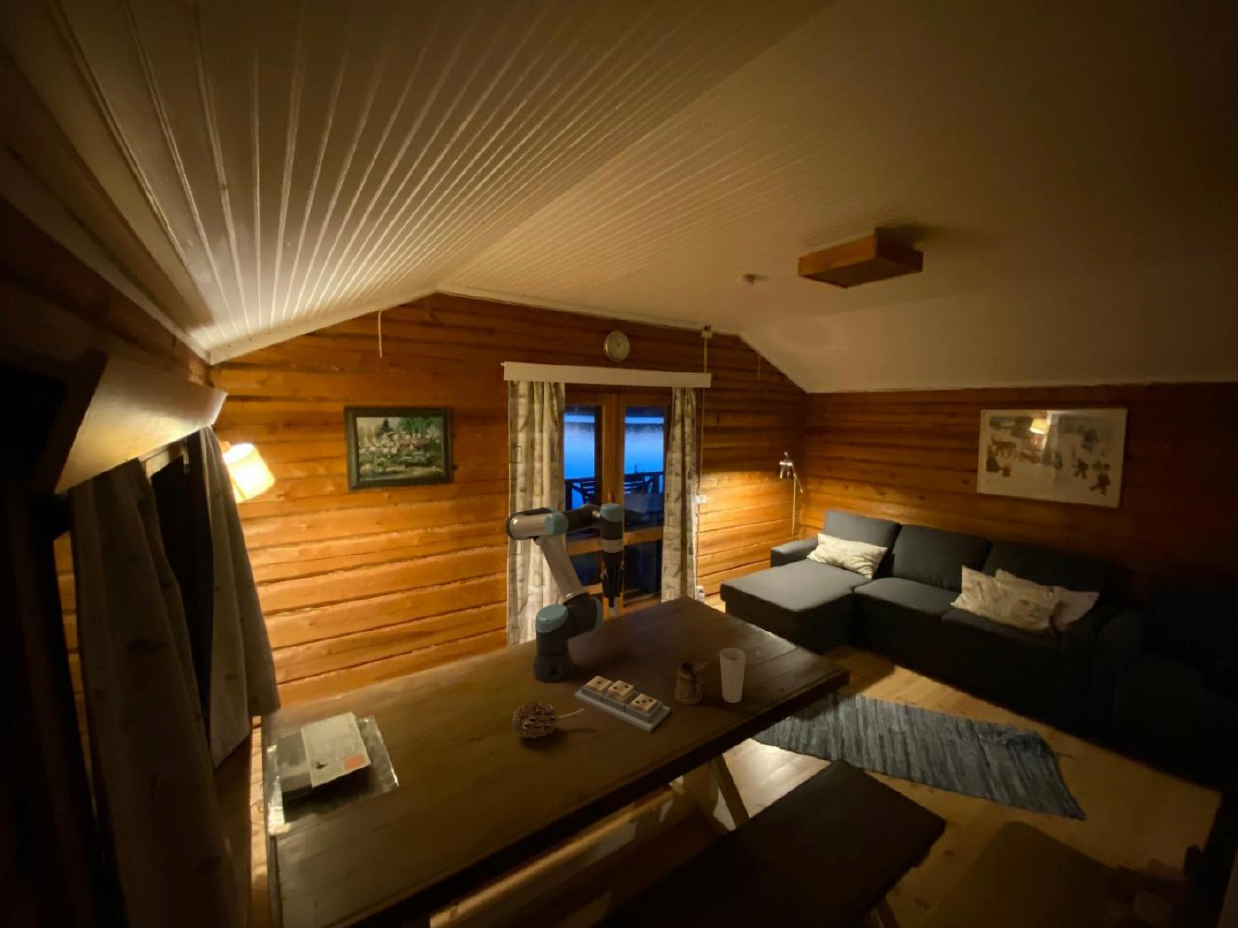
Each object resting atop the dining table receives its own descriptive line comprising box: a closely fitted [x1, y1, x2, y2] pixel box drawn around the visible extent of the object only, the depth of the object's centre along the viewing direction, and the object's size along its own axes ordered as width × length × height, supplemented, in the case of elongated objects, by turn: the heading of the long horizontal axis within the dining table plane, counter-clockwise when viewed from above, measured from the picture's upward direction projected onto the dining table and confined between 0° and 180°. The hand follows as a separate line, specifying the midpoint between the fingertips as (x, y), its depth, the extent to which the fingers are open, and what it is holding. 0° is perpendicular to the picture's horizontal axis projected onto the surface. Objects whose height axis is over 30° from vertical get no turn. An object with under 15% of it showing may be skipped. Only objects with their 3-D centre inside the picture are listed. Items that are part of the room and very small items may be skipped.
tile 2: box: [608, 680, 635, 703], centre depth 166 cm, size 6×6×3 cm
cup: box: [719, 647, 747, 704], centre depth 168 cm, size 8×8×16 cm
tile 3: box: [631, 693, 658, 714], centre depth 161 cm, size 6×6×3 cm
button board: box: [573, 675, 671, 733], centre depth 166 cm, size 30×12×3 cm, turn 54°
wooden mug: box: [673, 658, 710, 706], centre depth 167 cm, size 9×14×18 cm, turn 30°
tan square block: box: [586, 675, 613, 694], centre depth 171 cm, size 6×6×3 cm
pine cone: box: [512, 701, 585, 739], centre depth 153 cm, size 22×10×10 cm, turn 109°
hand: (613, 614), depth 177 cm, fingers closed
